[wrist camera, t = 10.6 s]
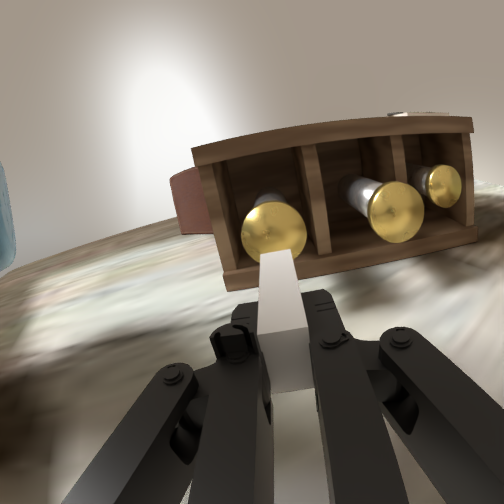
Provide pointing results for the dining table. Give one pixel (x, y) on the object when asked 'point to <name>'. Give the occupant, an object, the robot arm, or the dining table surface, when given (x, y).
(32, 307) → the dining table surface
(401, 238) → the button
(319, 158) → the box
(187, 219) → the letter holder
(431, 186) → the button
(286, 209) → the button
